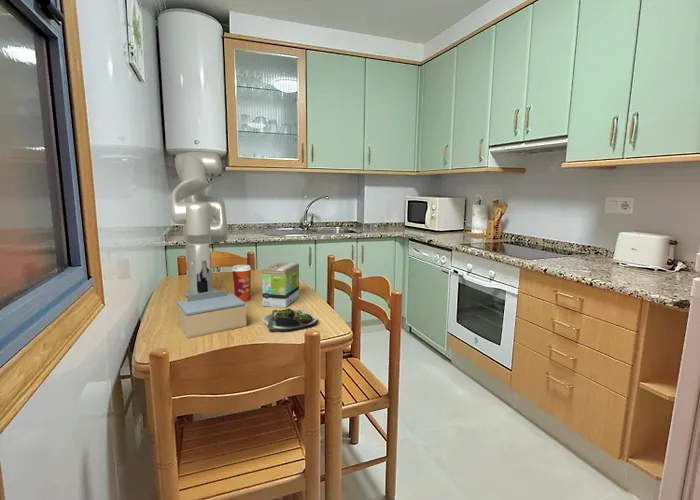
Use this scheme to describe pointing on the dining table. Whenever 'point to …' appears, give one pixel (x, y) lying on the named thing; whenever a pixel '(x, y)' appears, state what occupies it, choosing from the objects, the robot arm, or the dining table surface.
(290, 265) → the tea box
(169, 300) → the dining table surface
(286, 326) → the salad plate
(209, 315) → the box
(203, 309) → the lid
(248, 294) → the paper cup
